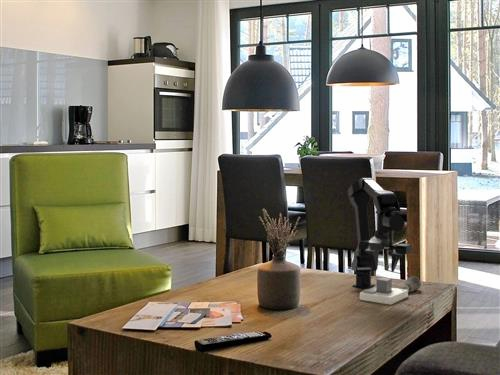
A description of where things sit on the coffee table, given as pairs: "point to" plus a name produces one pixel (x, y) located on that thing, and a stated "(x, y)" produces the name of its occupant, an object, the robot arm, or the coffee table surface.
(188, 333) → the coffee table surface
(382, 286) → the plug
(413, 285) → the stone
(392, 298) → the socket plate
